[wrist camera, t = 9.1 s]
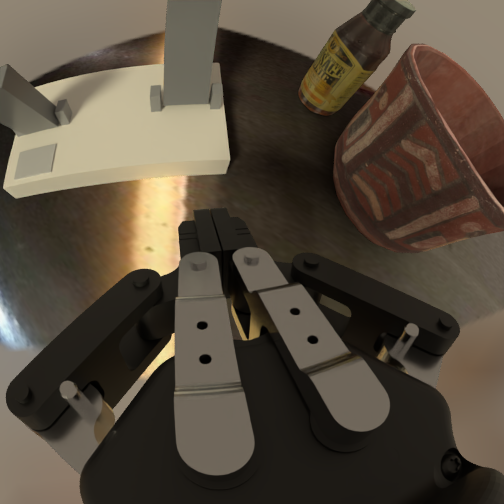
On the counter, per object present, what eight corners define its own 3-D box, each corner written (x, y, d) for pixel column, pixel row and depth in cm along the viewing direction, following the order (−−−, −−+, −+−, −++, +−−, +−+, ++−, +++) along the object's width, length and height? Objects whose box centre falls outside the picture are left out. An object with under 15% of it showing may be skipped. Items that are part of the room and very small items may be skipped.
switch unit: (225, 173, 28) (234, 146, 23) (15, 198, 22) (-8, 178, 17) (215, 79, 30) (222, 48, 25) (39, 102, 24) (26, 76, 19)
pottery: (428, 180, 36) (515, 127, 19) (411, 287, 31) (536, 261, 14) (334, 112, 34) (408, 21, 17) (291, 216, 29) (405, 113, 12)
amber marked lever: (208, 105, 25) (226, -24, 13) (163, 107, 24) (170, -25, 12) (206, 94, 26) (222, -25, 15) (164, 95, 25) (171, -26, 14)
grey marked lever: (57, 129, 22) (-10, 84, 9) (25, 137, 21) (-49, 104, 8) (60, 107, 21) (-1, 51, 8) (27, 115, 20) (-41, 73, 7)
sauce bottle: (290, 83, 33) (355, -31, 14) (328, 87, 35) (400, -11, 16) (304, 120, 32) (390, 0, 13) (344, 122, 34) (434, 23, 15)
